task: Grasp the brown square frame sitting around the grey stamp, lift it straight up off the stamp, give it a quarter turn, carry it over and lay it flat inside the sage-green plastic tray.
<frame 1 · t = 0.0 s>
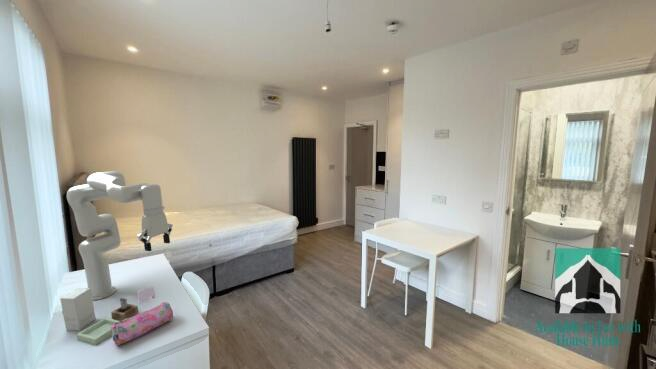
hand: (158, 246, 125), 31 cm above the table, fingers open, 9 cm apart
tray: (101, 333, 112), on the table
pencil case: (144, 332, 113), on the table
brown square frame: (125, 315, 124), on the table
mobile phone: (146, 296, 141), on the table
skincare box: (81, 325, 118), on the table
grey stamp: (125, 315, 124), on the table
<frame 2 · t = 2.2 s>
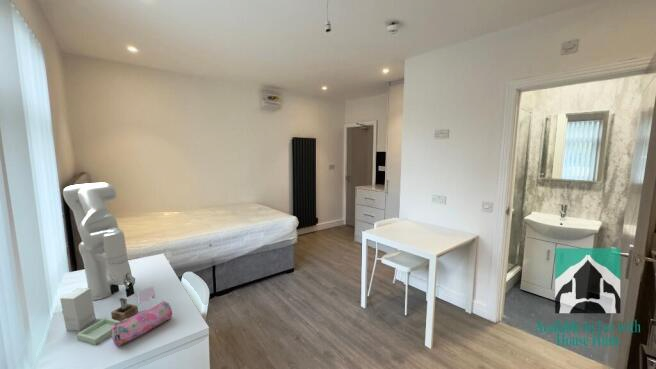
hand: (122, 294, 122), 11 cm above the table, fingers open, 9 cm apart
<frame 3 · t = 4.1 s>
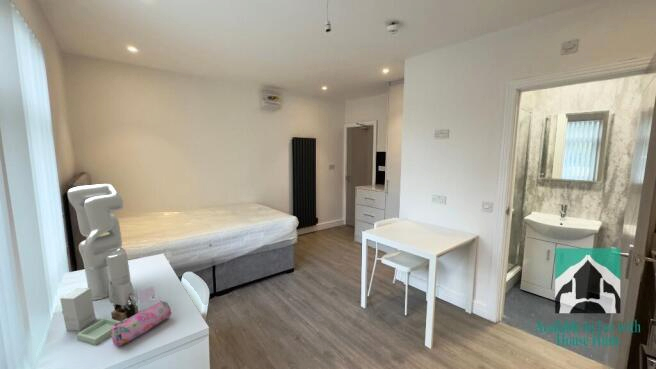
hand: (125, 314, 124), 1 cm above the table, fingers closed on brown square frame, 7 cm apart
brown square frame: (125, 315, 124), on the table, touching gripper
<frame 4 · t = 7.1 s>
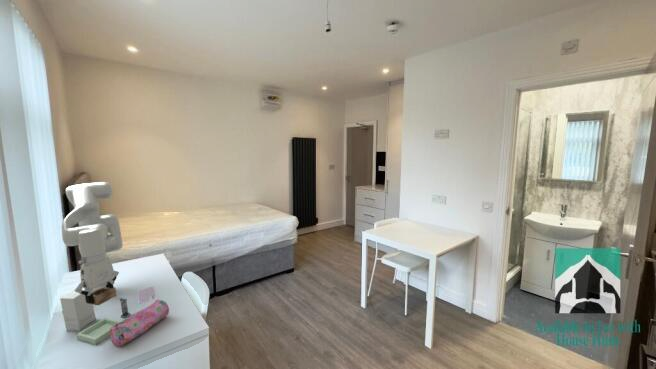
hand: (101, 297, 112), 15 cm above the table, fingers closed on brown square frame, 7 cm apart
brown square frame: (101, 299, 112), point 14 cm above the table, touching gripper
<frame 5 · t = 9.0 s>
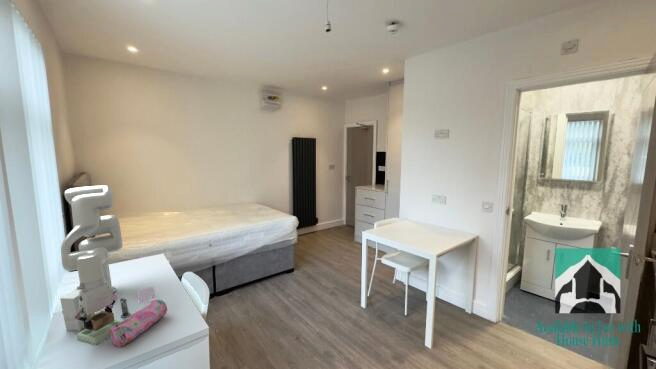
hand: (99, 322, 111), 5 cm above the table, fingers closed on brown square frame, 7 cm apart
brown square frame: (99, 324, 112), point 4 cm above the table, touching gripper
when the fingers open (3 cm above the table, at t = 10.4 s): brown square frame drops 2 cm, resting on tray.
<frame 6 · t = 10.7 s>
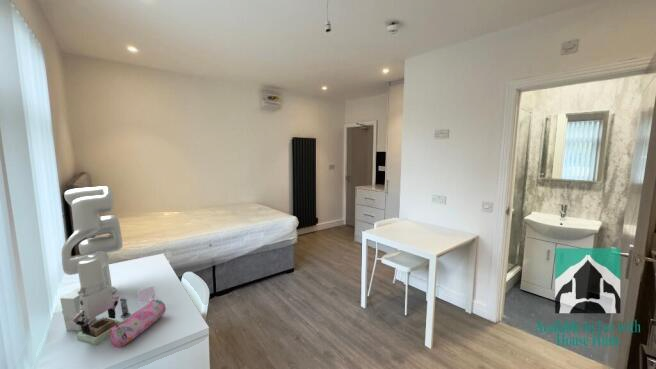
hand: (100, 325, 112), 4 cm above the table, fingers open, 9 cm apart
brown square frame: (101, 331, 112), point 1 cm above the table, touching tray
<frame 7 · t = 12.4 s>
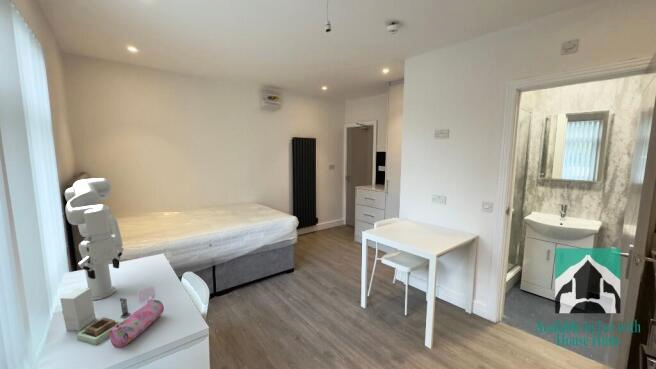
hand: (104, 272, 118), 23 cm above the table, fingers open, 9 cm apart
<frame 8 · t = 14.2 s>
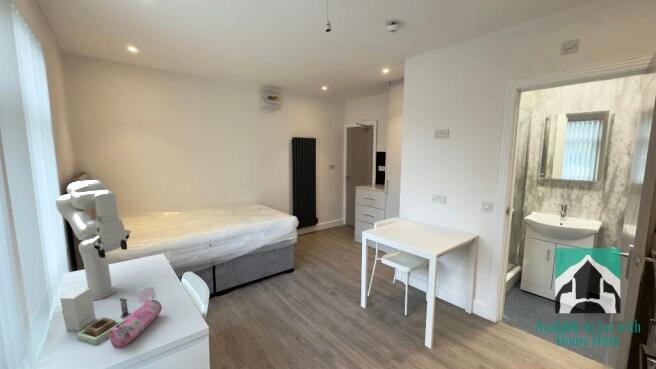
hand: (113, 253, 126), 28 cm above the table, fingers open, 9 cm apart
at the end: brown square frame 0.0 cm off-centre on the tray, point 0.8 cm above the tray's base; brown square frame tilted 0°; the gripper is holding nothing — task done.
